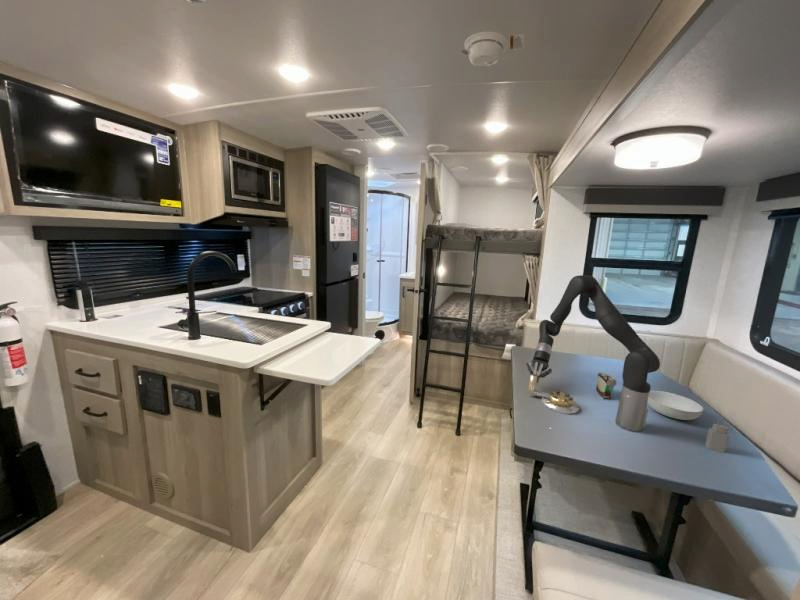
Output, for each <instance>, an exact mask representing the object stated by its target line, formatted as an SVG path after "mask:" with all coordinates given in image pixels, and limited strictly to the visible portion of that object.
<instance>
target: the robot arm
mask: <svg viewBox="0 0 800 600" xmlns="http://www.w3.org/2000/svg"><path fill="white" fill-rule="evenodd" d="M580 295H586V296H587V297H588V299H590V301H592V304H593V306H594V312H595V317H596V321H597V322H598V323H599V324H600V326H601V327H602V329H603V330H604V331H605V332H606V333H607V334H608V335H610V336H611V337H612V338H613V339H615V340H616V341H618V342H620V343H621V344H622V345H623V347H625V348H626V349H627V351H628V352H629V353H627V355H626V356H625V359H624V361H623V362H624V363H623V368H622V369H623V370H622V375H621V378H622V386H621V387H622V388H621V392H620V398H619V402H618V406H617V411H616V416H615V424H616V425H617V426H618V427H620V428H622V429H624V430H627V431H630V432H641V431H644V430H645V426H646V421H647V419H648V418H647V417H648V413H649V408H648V407H647V406H648V403H647V402H648V397H649V393H650V391H651V384H650V383H649V382H647V381H648V374H651V373H654V372H657V371H658V370H659V369H660V366H661V361H660V359H659V357H658V355H657V354H656V353H655V351H653V350H652V348H650V346H648V344H646V342H645V341H643V339H642V338H641V337H640V336H639V334H637V331H635V330H634V329H633V327H632V326H631V325H630V323H628V321H627V319H626V318H625V317H624V316H623V315H622V313H621V311H619V310H618V309H617V307H616V305H614V303H613V302H612V301H611V299H610V298H609V297H608V296H607V294H606V293H605V292H604V290H603V288H602V287H601V284H600V283H599V281H598V280H597V279H596V277H594V276H593V275H589V274H587V275H586V274H583V275H575V276H573V277H572V278H571V279H570V281H568V284H567V287H566V288H565V291H564V292H563V295H562V297H561V299H560V301H559V302H558V305H557V306H556V307H555V309H554V310H553V311H552V313H551V314H550V316H549V319H550V320H551V321H550V320H548V319H543V320H541V321H540V323H539V329H538V330H539V331H538V333H539V338H538V343H537V345H536V348H535V351H534V355H533V359H532V360H531V361H530V362H529V363H528V362H526V363H525V365H526V368H527V370H528V372H529V374H530V375H531V374H534V375H537V376H538V377H537V383H536V384H538V383H539V380H540V378H542V379H544V378H545V377H547V376H548V375H550V374H552V373H553V369H552V368H550V367H549V366H550V365H549V362H550V358H551V356H552V349H553V345H554V338H553V337H556V336H559V334H560V332H561V329H562V326H563V324H564V322H565V321H566V319H567V318H568V316H569V315H570V313H571V312H572V308H573V302H574V301H575V299H577V297H579V296H580ZM532 368H533V369H532Z"/></svg>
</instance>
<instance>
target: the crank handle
mask: <svg viewBox="0 0 800 600" xmlns="http://www.w3.org/2000/svg"><path fill="white" fill-rule="evenodd" d="M537 377H538V376H537V375H534V374H530V375H529V383H528V389H527V393H528V394H529V395H537V396H541V397H542V396H544V397H547V398H549V401H550V402H551V403H553V404H555V405H557V406H561V407H571V406H572V404H573V401H574V397H572V396H571V394H570V393H569V392H561V391H560V390H557V389H556V390H555V391H550V393H548V392H545V391H544V392H543V391H541V390H537V384H538V383H537Z"/></svg>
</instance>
